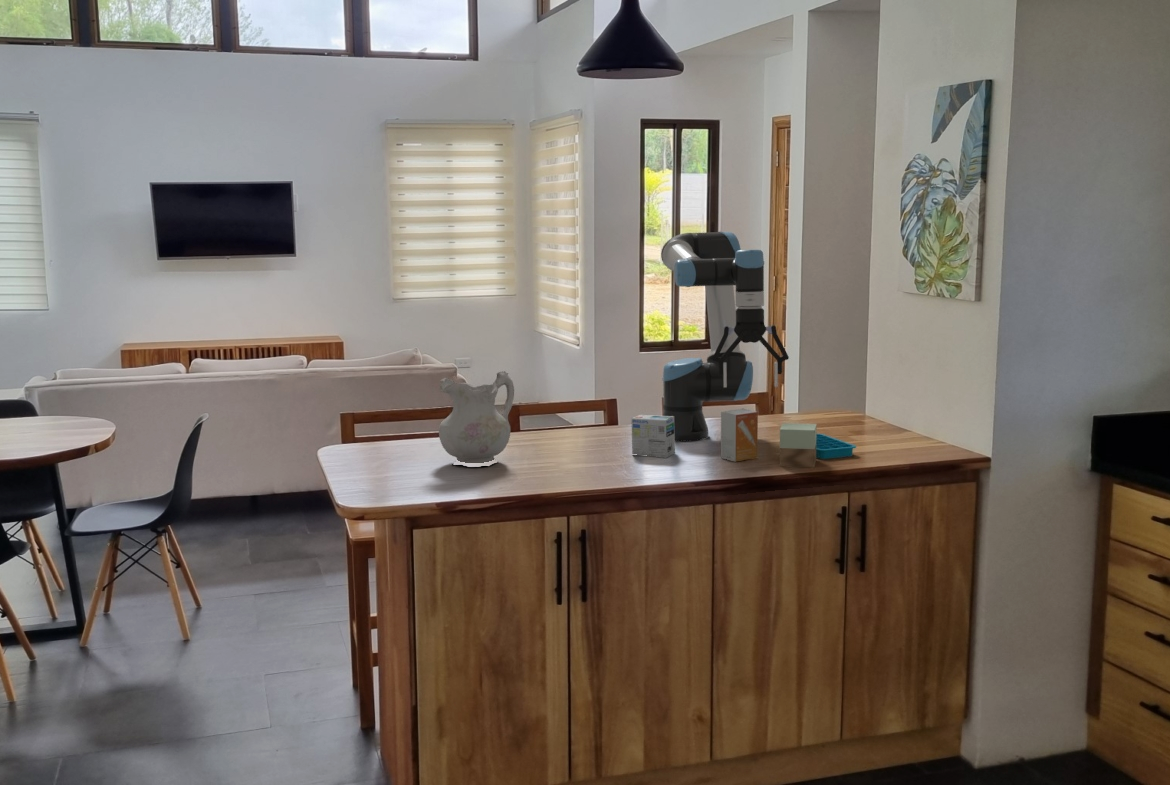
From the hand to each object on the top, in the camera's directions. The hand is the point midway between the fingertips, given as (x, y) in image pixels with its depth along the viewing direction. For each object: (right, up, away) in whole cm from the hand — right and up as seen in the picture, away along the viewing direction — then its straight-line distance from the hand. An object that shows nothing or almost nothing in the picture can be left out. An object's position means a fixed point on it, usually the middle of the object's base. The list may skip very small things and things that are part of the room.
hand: (750, 386), depth 292 cm
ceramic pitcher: (-74, -21, +5) cm, 77 cm away
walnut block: (+12, -20, -3) cm, 24 cm away
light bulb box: (-25, -19, +11) cm, 34 cm away
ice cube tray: (+21, -18, +11) cm, 30 cm away
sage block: (+12, -16, -4) cm, 20 cm away
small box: (-3, -20, +4) cm, 20 cm away
